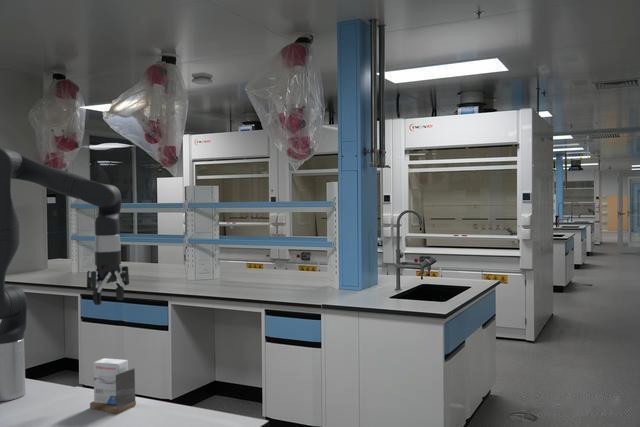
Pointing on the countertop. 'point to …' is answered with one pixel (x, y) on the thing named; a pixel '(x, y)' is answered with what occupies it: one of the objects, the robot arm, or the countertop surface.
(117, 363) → the ink box
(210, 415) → the countertop surface
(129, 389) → the wooden base bookend
